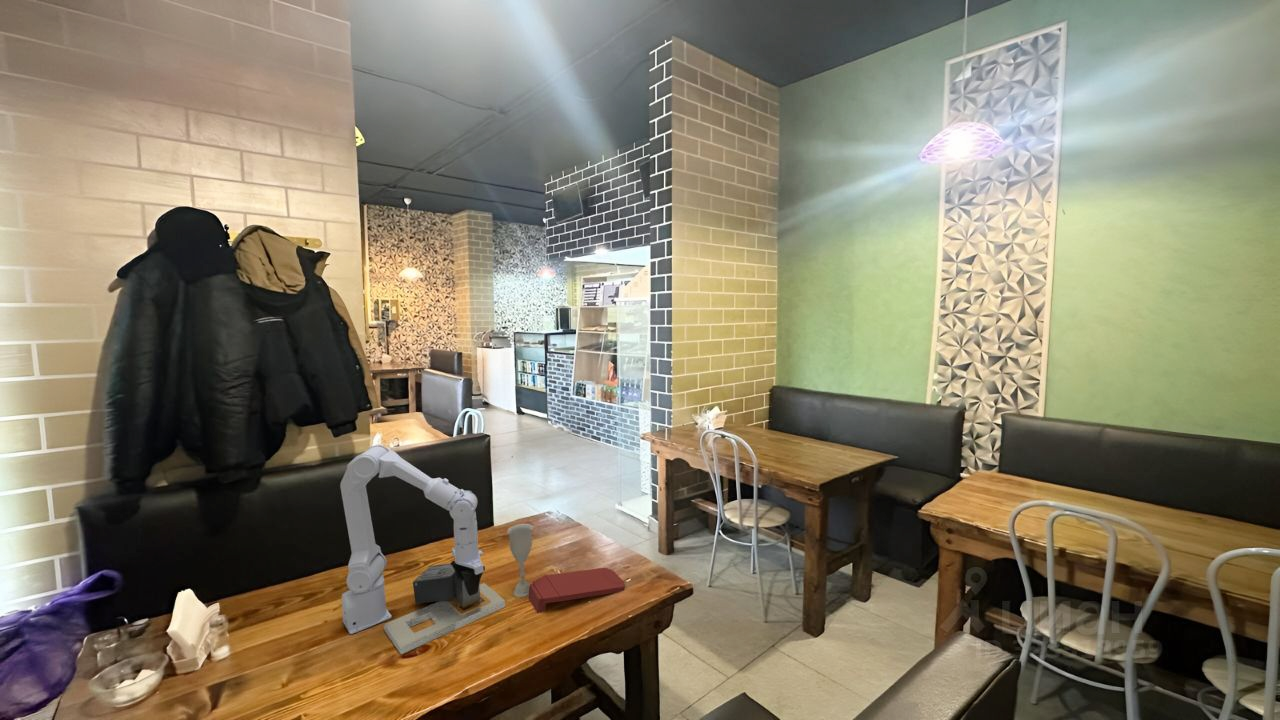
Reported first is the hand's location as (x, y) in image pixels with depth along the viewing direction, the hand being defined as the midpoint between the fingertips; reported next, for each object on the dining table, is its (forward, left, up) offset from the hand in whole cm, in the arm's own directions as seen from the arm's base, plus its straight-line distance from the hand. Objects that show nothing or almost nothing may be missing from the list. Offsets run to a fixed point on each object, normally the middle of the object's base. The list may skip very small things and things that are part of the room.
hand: (468, 590), depth 128 cm
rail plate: (-6, 0, -5) cm, 8 cm away
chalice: (+14, -3, -5) cm, 15 cm away
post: (0, 0, -3) cm, 3 cm away
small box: (+1, +15, -2) cm, 15 cm away
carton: (+25, -14, -6) cm, 29 cm away
